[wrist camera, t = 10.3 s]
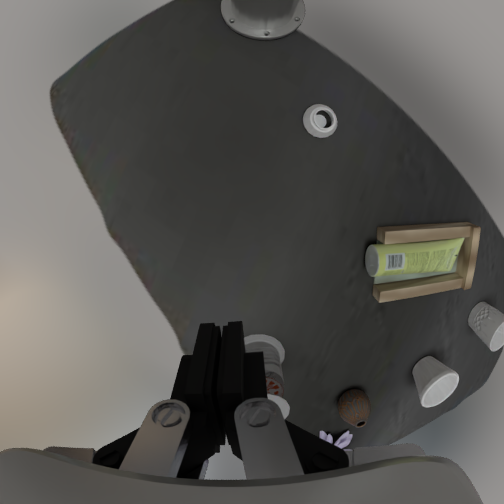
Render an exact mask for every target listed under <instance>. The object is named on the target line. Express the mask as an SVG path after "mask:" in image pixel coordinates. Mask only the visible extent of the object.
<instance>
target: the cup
mask: <svg viewBox="0 0 504 504" xmlns="http://www.w3.org/2000/svg"><path fill="white" fill-rule="evenodd" d="M412 374H413V377H414V380H415V383H416V387H417V390H418V393H419V399H420V402H421V404H422V406H424V407H433V406H435V405H437V404H440V403H441V402H443V401H444V400H445V399H447V398H448V397H449V396H450V395H451V394H452V393H453V391H454V390H455V388H456V387H457V384H458V382H459V375H458V374H457V372H455V371H454V370H452V369H450V368H449V367H447V366H446V365H444V364H443V363H441V362H440V361H438V360H437V359H435V358H434V357H432V356H426V357H423V358H422V359H420V360H419V361H418V362H417V363H416V364H415V366H414V367H413V371H412Z"/></svg>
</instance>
